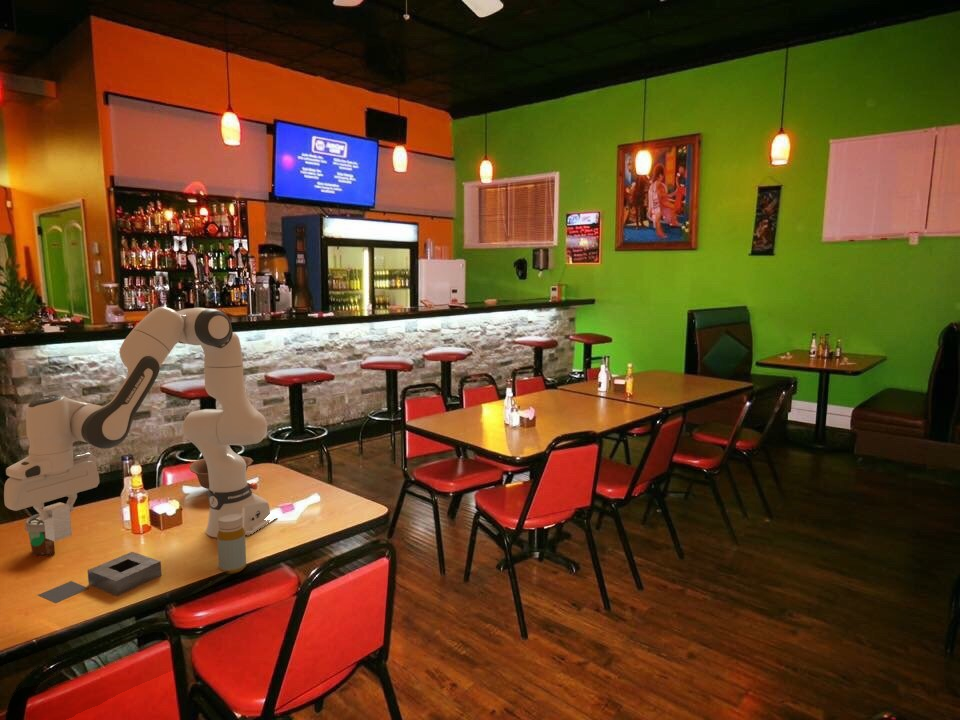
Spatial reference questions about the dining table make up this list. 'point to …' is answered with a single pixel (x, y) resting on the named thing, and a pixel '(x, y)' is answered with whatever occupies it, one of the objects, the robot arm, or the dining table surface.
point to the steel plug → (58, 522)
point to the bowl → (202, 470)
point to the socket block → (124, 573)
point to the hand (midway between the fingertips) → (56, 515)
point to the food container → (39, 537)
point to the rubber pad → (63, 592)
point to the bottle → (231, 543)
